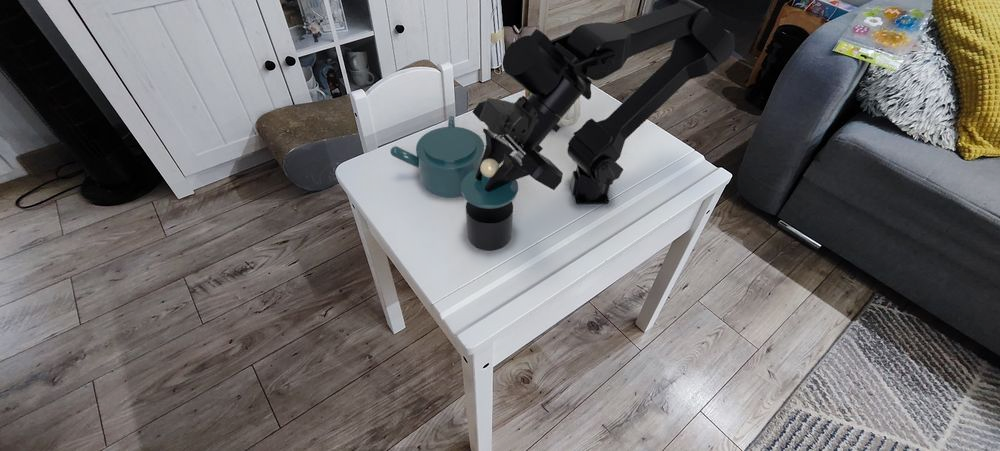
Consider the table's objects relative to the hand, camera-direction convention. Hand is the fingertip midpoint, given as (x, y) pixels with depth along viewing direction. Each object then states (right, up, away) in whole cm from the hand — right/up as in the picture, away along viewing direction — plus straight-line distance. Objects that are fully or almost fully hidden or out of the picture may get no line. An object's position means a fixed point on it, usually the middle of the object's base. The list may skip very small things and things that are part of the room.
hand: (481, 184), depth 72 cm
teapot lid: (+1, 0, +2) cm, 2 cm away
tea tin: (+1, -8, +10) cm, 13 cm away
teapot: (-9, +5, +21) cm, 24 cm away
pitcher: (+14, +17, +33) cm, 40 cm away
